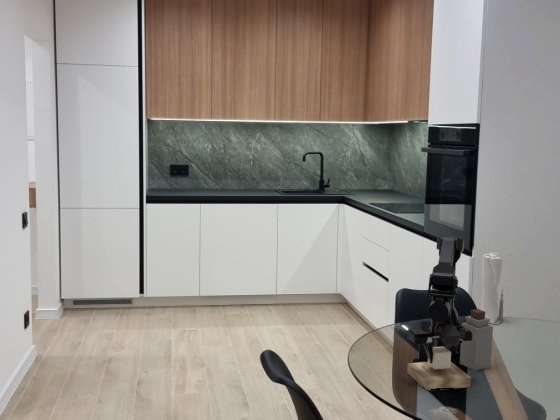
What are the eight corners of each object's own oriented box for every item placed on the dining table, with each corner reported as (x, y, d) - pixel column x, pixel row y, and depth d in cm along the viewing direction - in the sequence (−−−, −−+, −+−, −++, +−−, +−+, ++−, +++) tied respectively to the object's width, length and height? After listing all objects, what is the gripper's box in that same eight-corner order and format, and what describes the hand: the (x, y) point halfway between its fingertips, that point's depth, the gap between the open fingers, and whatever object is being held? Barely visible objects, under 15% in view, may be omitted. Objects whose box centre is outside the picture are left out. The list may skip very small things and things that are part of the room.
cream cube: (442, 362, 208) (443, 346, 207) (450, 368, 203) (451, 352, 202) (427, 363, 207) (428, 347, 206) (434, 369, 202) (435, 353, 201)
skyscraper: (497, 326, 258) (501, 254, 254) (476, 322, 262) (480, 251, 258) (503, 320, 265) (507, 250, 261) (482, 317, 269) (486, 248, 265)
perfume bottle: (474, 370, 213) (477, 315, 211) (459, 363, 219) (462, 309, 217) (490, 367, 217) (493, 312, 214) (475, 360, 222) (478, 306, 220)
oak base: (449, 369, 214) (449, 359, 213) (470, 387, 200) (470, 376, 200) (407, 372, 211) (407, 362, 211) (426, 390, 197) (426, 380, 197)
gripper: (423, 322, 193) (420, 374, 195) (483, 318, 197) (480, 370, 199) (407, 310, 204) (405, 360, 206) (465, 307, 208) (462, 356, 210)
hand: (438, 362), depth 205 cm, fingers closed on cream cube, 5 cm apart
